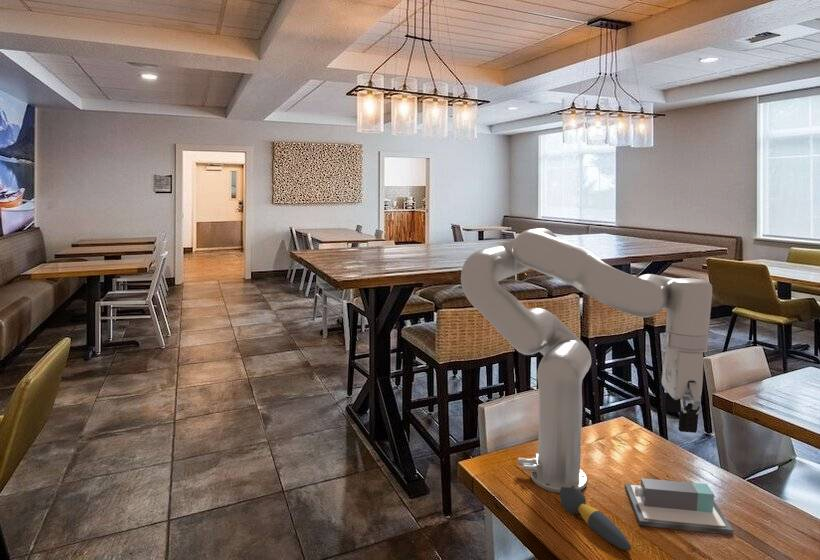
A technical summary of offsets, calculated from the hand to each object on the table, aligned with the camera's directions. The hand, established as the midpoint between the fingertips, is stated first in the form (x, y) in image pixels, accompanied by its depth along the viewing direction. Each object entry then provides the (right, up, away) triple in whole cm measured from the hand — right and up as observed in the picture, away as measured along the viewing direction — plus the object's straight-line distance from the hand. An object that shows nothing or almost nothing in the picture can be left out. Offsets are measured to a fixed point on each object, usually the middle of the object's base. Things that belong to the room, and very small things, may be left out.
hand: (679, 421), depth 105 cm
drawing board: (0, -19, +3) cm, 20 cm away
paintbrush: (-18, -21, -1) cm, 28 cm away
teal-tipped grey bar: (+1, -18, +3) cm, 18 cm away
